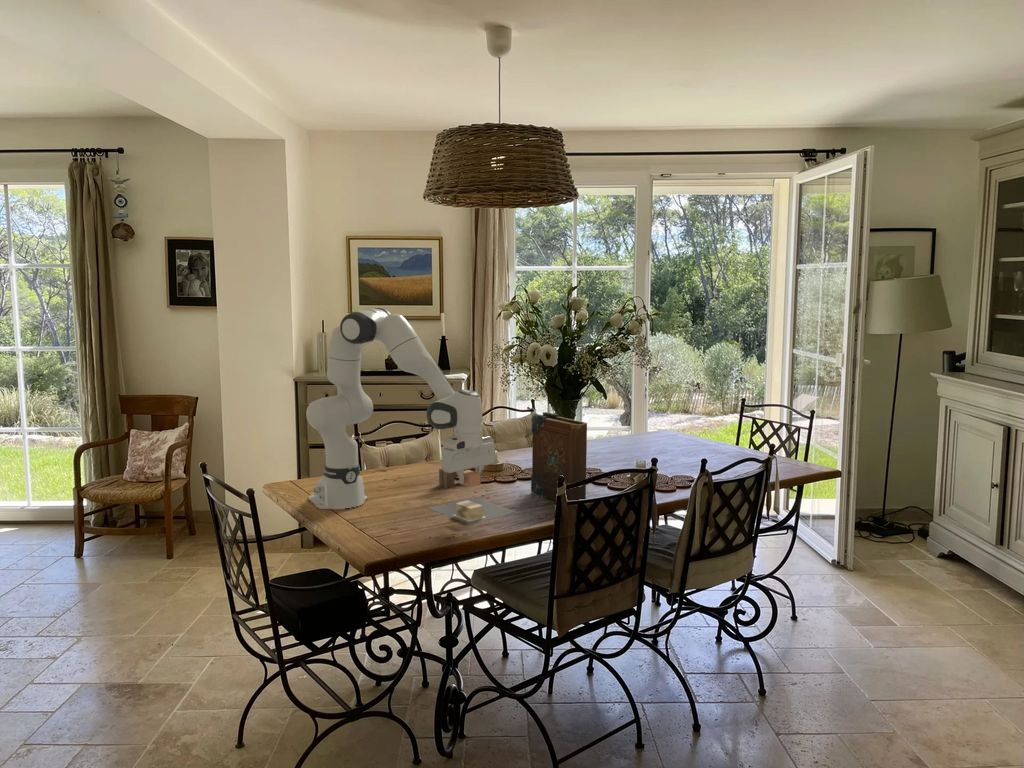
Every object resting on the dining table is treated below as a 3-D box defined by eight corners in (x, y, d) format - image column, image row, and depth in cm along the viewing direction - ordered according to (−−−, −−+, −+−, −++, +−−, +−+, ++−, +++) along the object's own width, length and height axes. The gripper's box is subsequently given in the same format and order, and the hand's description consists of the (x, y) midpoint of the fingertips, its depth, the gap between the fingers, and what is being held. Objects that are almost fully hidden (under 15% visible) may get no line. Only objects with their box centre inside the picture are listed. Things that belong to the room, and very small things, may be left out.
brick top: (459, 483, 246) (459, 471, 245) (468, 481, 248) (468, 469, 248) (470, 487, 241) (470, 475, 241) (480, 485, 244) (480, 473, 243)
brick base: (455, 514, 248) (455, 503, 247) (467, 511, 251) (467, 500, 251) (470, 520, 242) (470, 508, 241) (482, 517, 245) (482, 505, 245)
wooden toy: (446, 489, 284) (445, 424, 280) (439, 484, 290) (438, 421, 286) (482, 483, 292) (482, 420, 288) (474, 479, 297) (474, 417, 294)
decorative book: (530, 493, 278) (531, 414, 274) (545, 490, 283) (545, 412, 279) (574, 508, 260) (575, 423, 256) (589, 504, 265) (590, 421, 261)
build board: (428, 512, 256) (427, 507, 255) (473, 500, 269) (473, 496, 269) (469, 529, 239) (469, 524, 238) (516, 516, 252) (516, 511, 252)
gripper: (487, 434, 252) (487, 473, 254) (438, 442, 239) (438, 484, 241) (499, 436, 247) (499, 477, 249) (450, 446, 234) (450, 488, 236)
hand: (469, 481), depth 245 cm, fingers closed on brick top, 4 cm apart
